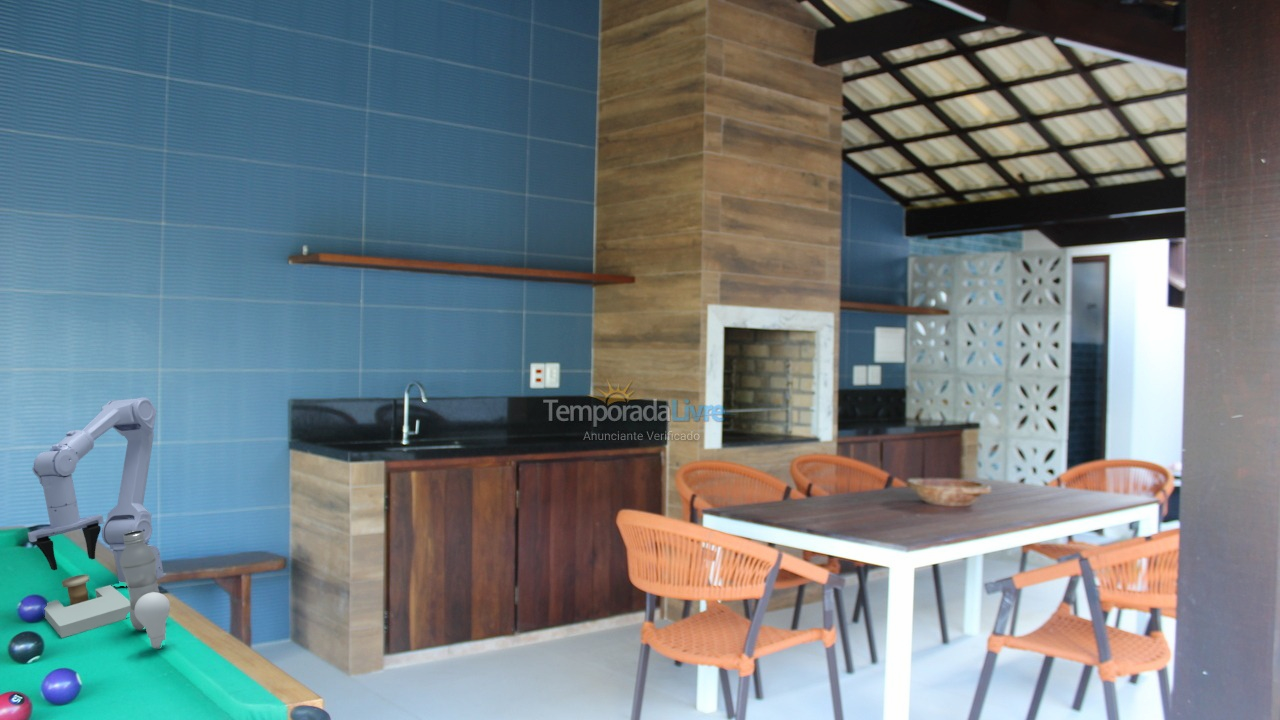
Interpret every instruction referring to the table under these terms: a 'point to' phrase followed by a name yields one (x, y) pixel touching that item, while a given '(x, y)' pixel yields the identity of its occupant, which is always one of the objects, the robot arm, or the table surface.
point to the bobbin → (77, 588)
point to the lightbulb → (153, 616)
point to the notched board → (88, 612)
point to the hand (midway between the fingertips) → (73, 563)
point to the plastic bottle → (138, 570)
